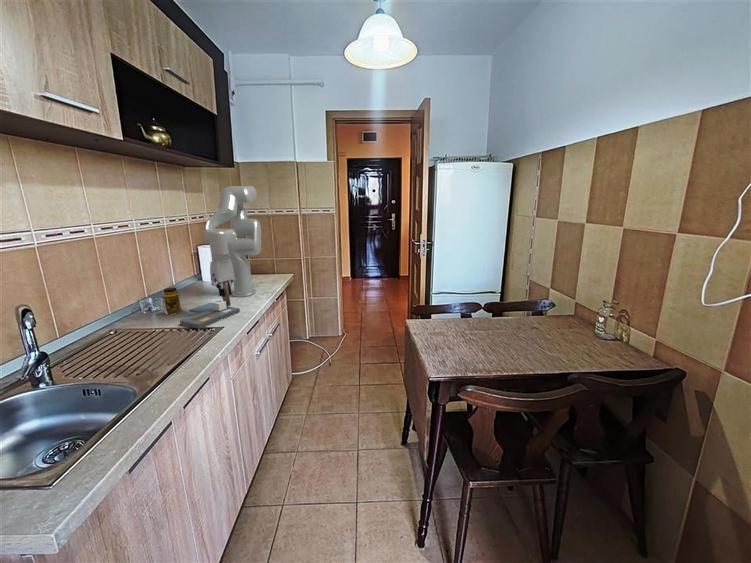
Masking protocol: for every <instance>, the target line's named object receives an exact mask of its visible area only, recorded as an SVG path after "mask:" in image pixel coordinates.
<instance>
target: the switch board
mask: <svg viewBox="0 0 751 563" xmlns="http://www.w3.org/2000/svg"><path fill="white" fill-rule="evenodd" d="M226 307H227V309H224V310H221V311H217V310H214V309H210V310H207V311H205V312H202V313H197V314H194V315H191V316H188V317H186V318H183V319H180V320H179V323H180V324H179V325H180V326H184V327H188V326H189V327H188V328H192V329H193V328H194V329H199V330H201V329H203V328H205V327H208V326H210V325H213V324H215V323H218V322H220V321H222V320H221V319H223V320H225V319H227V318H230V317H232V316H235V315H237V314H239V312H240V313H241V309H240V308H238V307H235V306H226ZM234 314H235V315H234ZM231 315H232V316H231ZM229 316H230V317H229ZM226 317H227V318H226ZM224 318H225V319H224ZM219 320H220V321H219ZM217 321H218V322H217ZM212 323H213V324H212Z"/></svg>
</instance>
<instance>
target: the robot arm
mask: <svg viewBox="0 0 751 563" xmlns="http://www.w3.org/2000/svg"><path fill="white" fill-rule="evenodd" d="M257 195H258V193H257V190H256V188H255V187H254V186H252V185H231V186H226V187H224V188H223V189H222V190H221V193H220V197H219V204H218V209H217V211H215V212H214V213H213V214H211V216H210V217H208V219H207V220H206V221H205V224H204V225H205V226H204V229H203V239H204V242H205V244H207V245H209V249H210V256H211V261H210V263H209V264H210V265H209V272H210V273H209V275H210V281H211V283H210V284H211V286H214V287H216V288H217V289H218V293H219V297H222V298H223V297H225V289H224V288H223V282H225V281H227V282H228V289H229V296H230V295H232V296H233V297H236V298H239V297H241V298H243V297H249V296H252V295H255V294H256V292H257V291H256V289H255V288H258V287H259V284H258V283H255V284H253V281H252V272H251V264H250V261H249V259H248V258H247V257H246V256H257V255H259V254H261V252H262V225H261V223H260V222H261V221H259V220H258V219H256V218H248V212H247V209H246V208H245V207H244V206H243V205H242V204H244V205H247V204H251V203H254V202H256V199H257V197H258V196H257ZM229 221H230V224H229V225H230V227H229V228H217V227H218V226H220V225H222V224H224V223H227V222H229ZM232 284H233V285H232ZM232 286H233V288H234V291H232V288H231V287H232Z"/></svg>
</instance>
